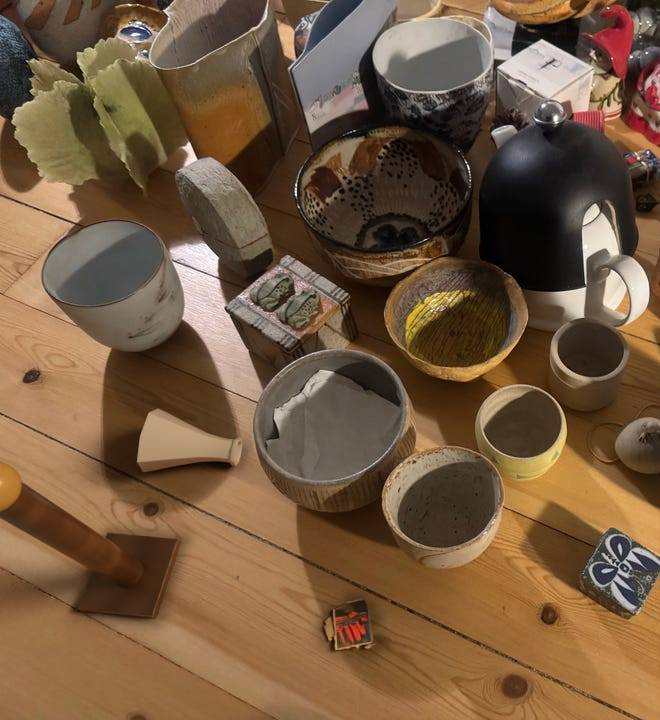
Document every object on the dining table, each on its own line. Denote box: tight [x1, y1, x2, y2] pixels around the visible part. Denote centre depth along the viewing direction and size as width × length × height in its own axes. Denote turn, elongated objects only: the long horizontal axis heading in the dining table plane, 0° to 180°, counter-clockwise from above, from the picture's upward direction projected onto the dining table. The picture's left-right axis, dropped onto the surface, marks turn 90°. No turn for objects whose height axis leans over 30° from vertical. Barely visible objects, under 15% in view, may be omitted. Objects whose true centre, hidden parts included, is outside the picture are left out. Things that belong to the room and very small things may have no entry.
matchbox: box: [323, 598, 377, 651], centre depth 71 cm, size 5×5×1 cm
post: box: [0, 461, 182, 619], centre depth 64 cm, size 8×8×26 cm
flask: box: [136, 408, 244, 473], centre depth 80 cm, size 7×7×10 cm
